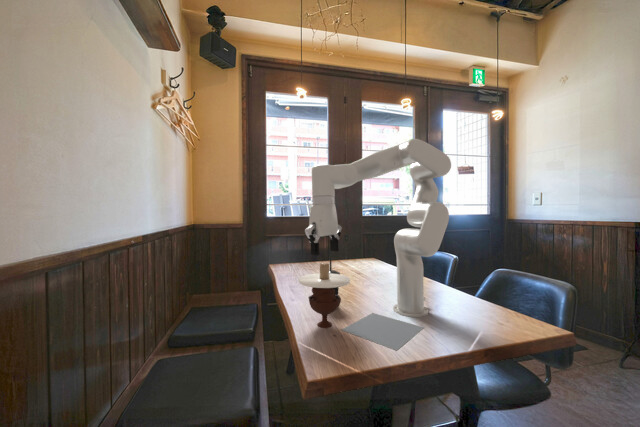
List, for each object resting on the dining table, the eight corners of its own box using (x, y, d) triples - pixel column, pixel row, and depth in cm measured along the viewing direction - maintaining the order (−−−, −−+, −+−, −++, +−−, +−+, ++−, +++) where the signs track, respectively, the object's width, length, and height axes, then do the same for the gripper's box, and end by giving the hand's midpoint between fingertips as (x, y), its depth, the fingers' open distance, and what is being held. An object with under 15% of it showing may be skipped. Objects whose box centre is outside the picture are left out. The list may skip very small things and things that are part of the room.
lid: (322, 273, 98) (322, 258, 98) (360, 280, 87) (360, 263, 87) (288, 281, 86) (288, 264, 86) (327, 291, 74) (327, 271, 74)
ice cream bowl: (339, 334, 80) (338, 286, 80) (304, 331, 82) (304, 284, 82) (343, 320, 90) (342, 277, 90) (312, 318, 92) (311, 276, 92)
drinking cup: (322, 303, 108) (322, 255, 108) (340, 304, 107) (340, 256, 107) (320, 310, 100) (320, 259, 101) (340, 310, 100) (339, 259, 100)
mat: (372, 314, 96) (372, 312, 96) (424, 329, 83) (424, 327, 83) (341, 331, 82) (341, 329, 82) (396, 352, 69) (396, 350, 69)
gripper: (331, 203, 95) (333, 249, 95) (297, 202, 83) (298, 255, 83) (348, 201, 90) (349, 250, 90) (313, 201, 78) (315, 257, 77)
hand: (325, 253), depth 86 cm, fingers open, 9 cm apart
